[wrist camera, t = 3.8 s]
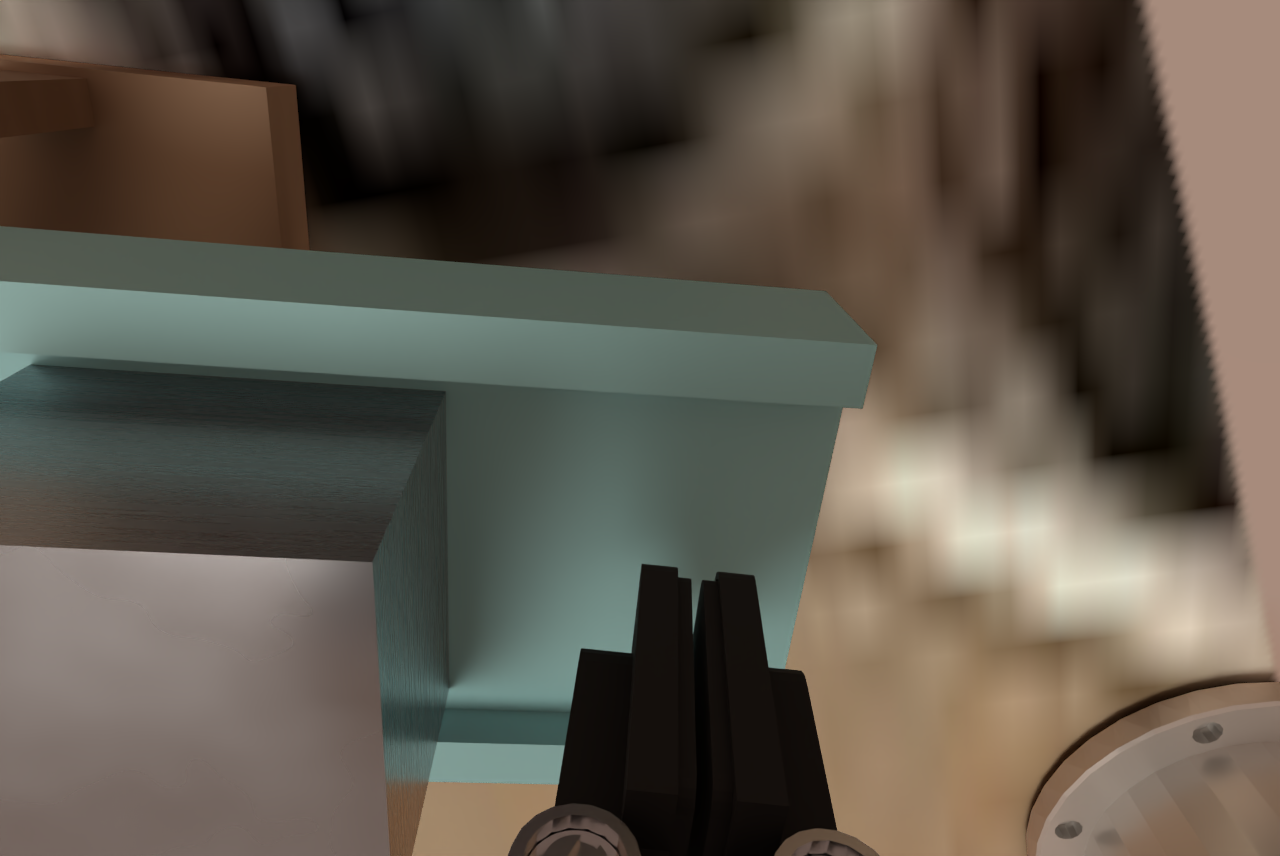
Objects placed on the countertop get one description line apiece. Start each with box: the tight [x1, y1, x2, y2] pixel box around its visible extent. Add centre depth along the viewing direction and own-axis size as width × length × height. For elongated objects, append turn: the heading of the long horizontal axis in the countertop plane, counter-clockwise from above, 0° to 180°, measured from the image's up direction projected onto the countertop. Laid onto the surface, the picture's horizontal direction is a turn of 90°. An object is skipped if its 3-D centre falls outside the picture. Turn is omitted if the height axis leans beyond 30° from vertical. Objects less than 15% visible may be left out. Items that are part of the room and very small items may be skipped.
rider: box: [0, 364, 449, 856], centre depth 11 cm, size 6×6×4 cm
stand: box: [0, 54, 310, 250], centre depth 17 cm, size 10×13×9 cm
